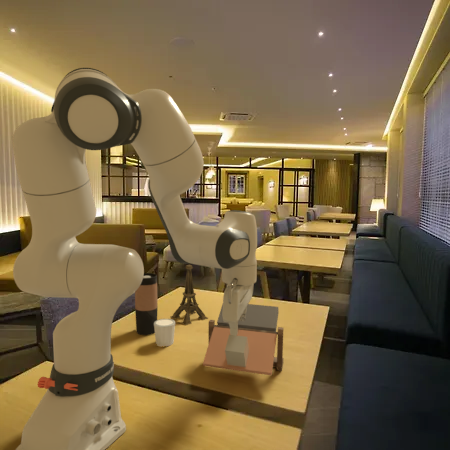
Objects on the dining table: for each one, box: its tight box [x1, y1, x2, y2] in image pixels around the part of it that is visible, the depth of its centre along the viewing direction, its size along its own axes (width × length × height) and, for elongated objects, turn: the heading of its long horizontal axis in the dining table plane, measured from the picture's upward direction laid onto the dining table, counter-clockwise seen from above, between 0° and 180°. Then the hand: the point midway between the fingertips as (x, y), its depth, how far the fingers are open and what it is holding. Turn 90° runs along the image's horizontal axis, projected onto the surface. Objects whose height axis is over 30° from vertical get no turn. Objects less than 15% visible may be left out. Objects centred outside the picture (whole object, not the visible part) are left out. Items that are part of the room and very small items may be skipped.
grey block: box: [225, 335, 249, 367], centre depth 90 cm, size 5×5×6 cm
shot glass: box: [154, 318, 176, 348], centre depth 114 cm, size 7×7×7 cm
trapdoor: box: [202, 303, 279, 376], centre depth 99 cm, size 22×18×2 cm
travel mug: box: [134, 272, 158, 336], centre depth 123 cm, size 8×8×20 cm
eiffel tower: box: [170, 264, 209, 326], centre depth 135 cm, size 11×11×25 cm
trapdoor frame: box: [208, 319, 284, 372], centre depth 102 cm, size 5×21×12 cm, turn 76°
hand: (238, 326), depth 90 cm, fingers open, 8 cm apart
